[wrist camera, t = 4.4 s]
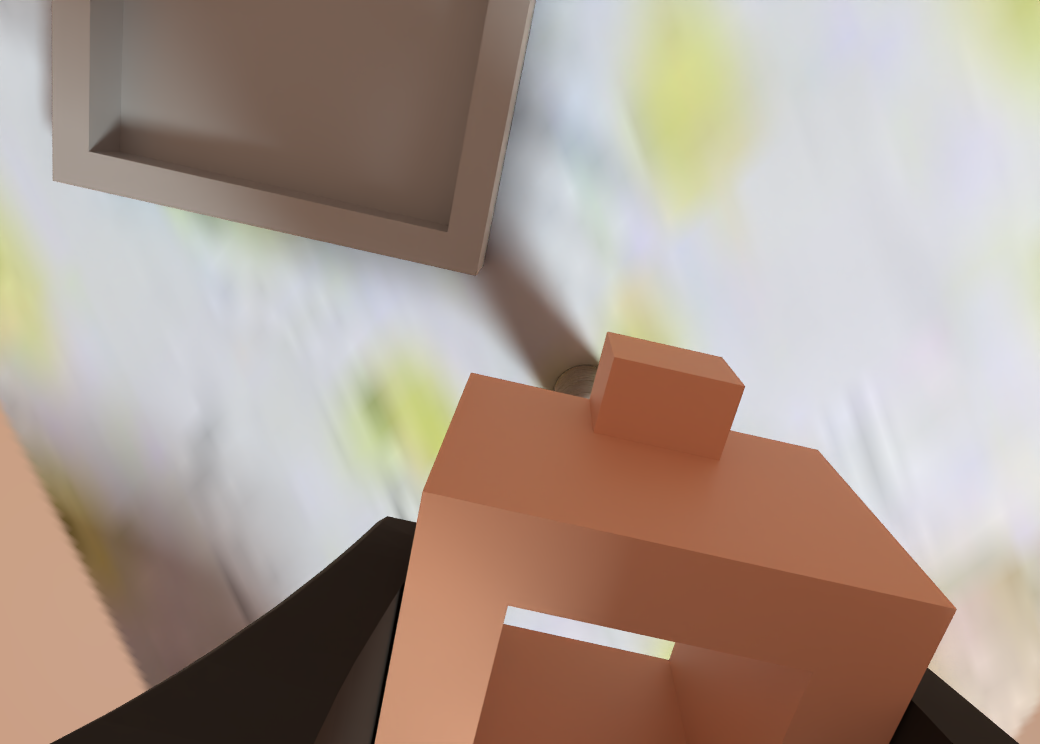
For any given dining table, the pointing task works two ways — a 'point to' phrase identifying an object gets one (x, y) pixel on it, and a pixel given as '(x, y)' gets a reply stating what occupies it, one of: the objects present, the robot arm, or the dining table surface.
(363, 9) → the slate tray
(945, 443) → the dining table surface
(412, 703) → the collar
